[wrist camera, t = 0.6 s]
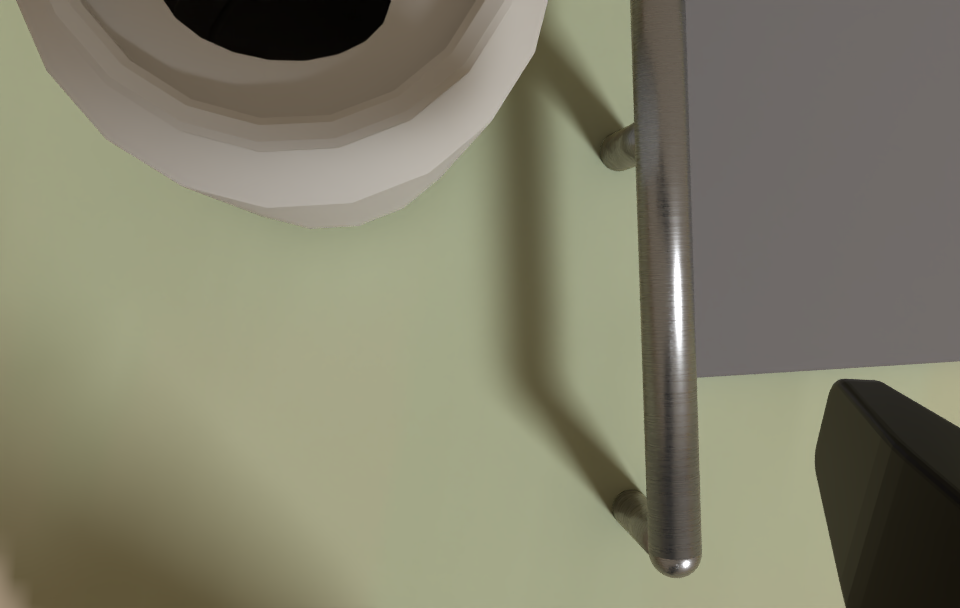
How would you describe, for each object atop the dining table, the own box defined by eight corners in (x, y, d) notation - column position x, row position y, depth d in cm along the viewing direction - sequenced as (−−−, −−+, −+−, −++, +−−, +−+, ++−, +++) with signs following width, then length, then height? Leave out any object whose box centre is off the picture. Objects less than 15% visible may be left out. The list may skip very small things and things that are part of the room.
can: (159, 215, 22) (-81, 166, 10) (183, -92, 22) (-37, -504, 10) (459, 243, 23) (554, 230, 11) (486, -50, 23) (614, -381, 11)
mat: (1087, 350, 26) (1102, 352, 25) (680, 375, 24) (687, 378, 24) (1085, -156, 25) (1100, -164, 24) (664, -161, 23) (670, -170, 23)
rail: (1059, 495, 26) (1189, 539, 22) (609, 531, 24) (659, 588, 20) (1055, -235, 24) (1192, -333, 20) (582, -247, 23) (628, -356, 19)
